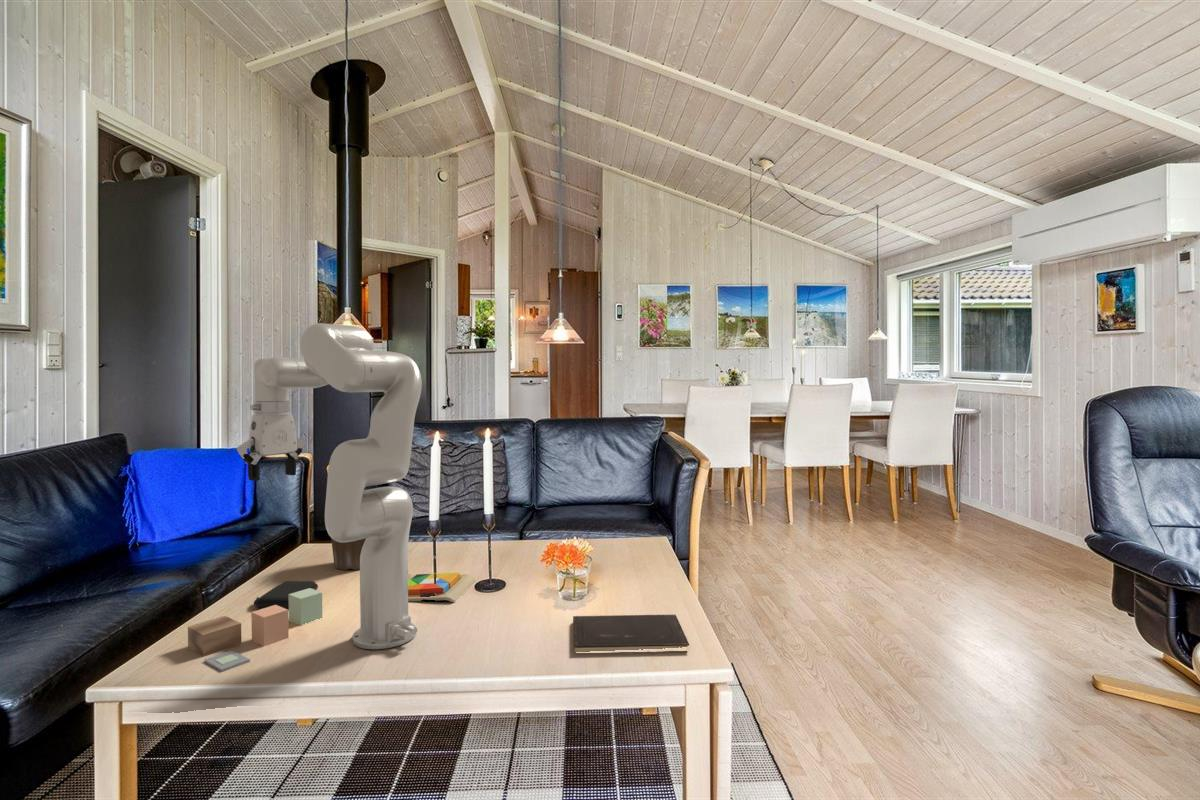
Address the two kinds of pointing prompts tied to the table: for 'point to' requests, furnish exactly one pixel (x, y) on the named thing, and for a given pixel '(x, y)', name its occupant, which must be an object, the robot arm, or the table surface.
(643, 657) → the table surface
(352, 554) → the plant pot
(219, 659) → the card
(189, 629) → the walnut base
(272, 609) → the terracotta block
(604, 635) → the hardcover book
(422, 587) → the wooden puzzle
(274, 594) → the carrying case or bag
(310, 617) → the sage block
